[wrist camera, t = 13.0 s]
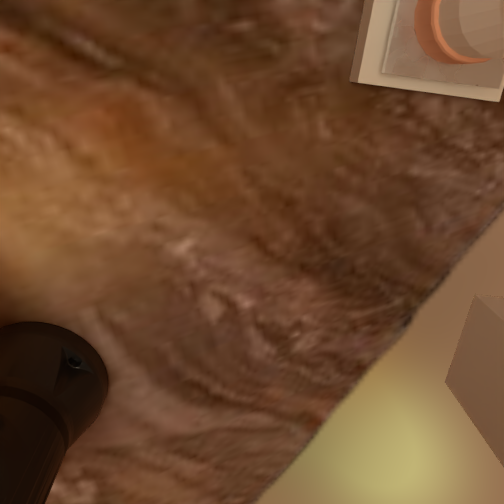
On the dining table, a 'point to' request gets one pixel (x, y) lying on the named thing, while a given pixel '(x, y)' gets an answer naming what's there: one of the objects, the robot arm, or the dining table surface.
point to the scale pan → (422, 65)
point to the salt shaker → (460, 30)
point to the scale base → (374, 49)
